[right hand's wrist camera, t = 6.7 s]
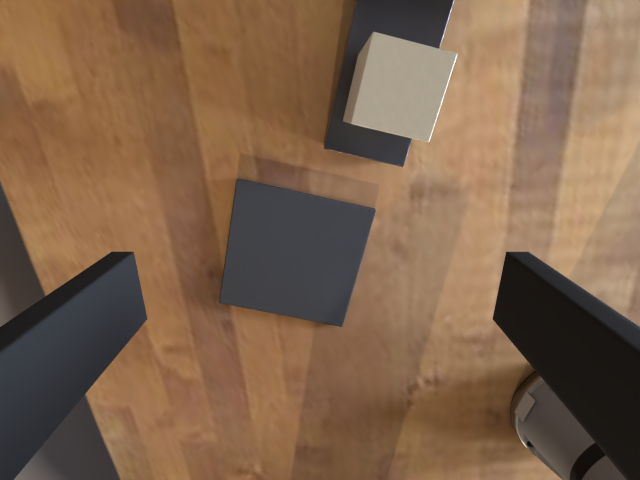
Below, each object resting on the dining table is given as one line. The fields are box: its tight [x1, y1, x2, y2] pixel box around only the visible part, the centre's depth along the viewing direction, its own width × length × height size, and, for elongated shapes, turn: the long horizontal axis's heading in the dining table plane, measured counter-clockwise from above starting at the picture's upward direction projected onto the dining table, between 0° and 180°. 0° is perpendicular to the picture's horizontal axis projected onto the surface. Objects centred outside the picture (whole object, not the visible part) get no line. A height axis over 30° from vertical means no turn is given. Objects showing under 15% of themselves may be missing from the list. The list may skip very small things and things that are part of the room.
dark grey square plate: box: [220, 179, 376, 327], centre depth 37 cm, size 14×14×1 cm
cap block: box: [343, 32, 457, 142], centre depth 24 cm, size 5×5×8 cm
